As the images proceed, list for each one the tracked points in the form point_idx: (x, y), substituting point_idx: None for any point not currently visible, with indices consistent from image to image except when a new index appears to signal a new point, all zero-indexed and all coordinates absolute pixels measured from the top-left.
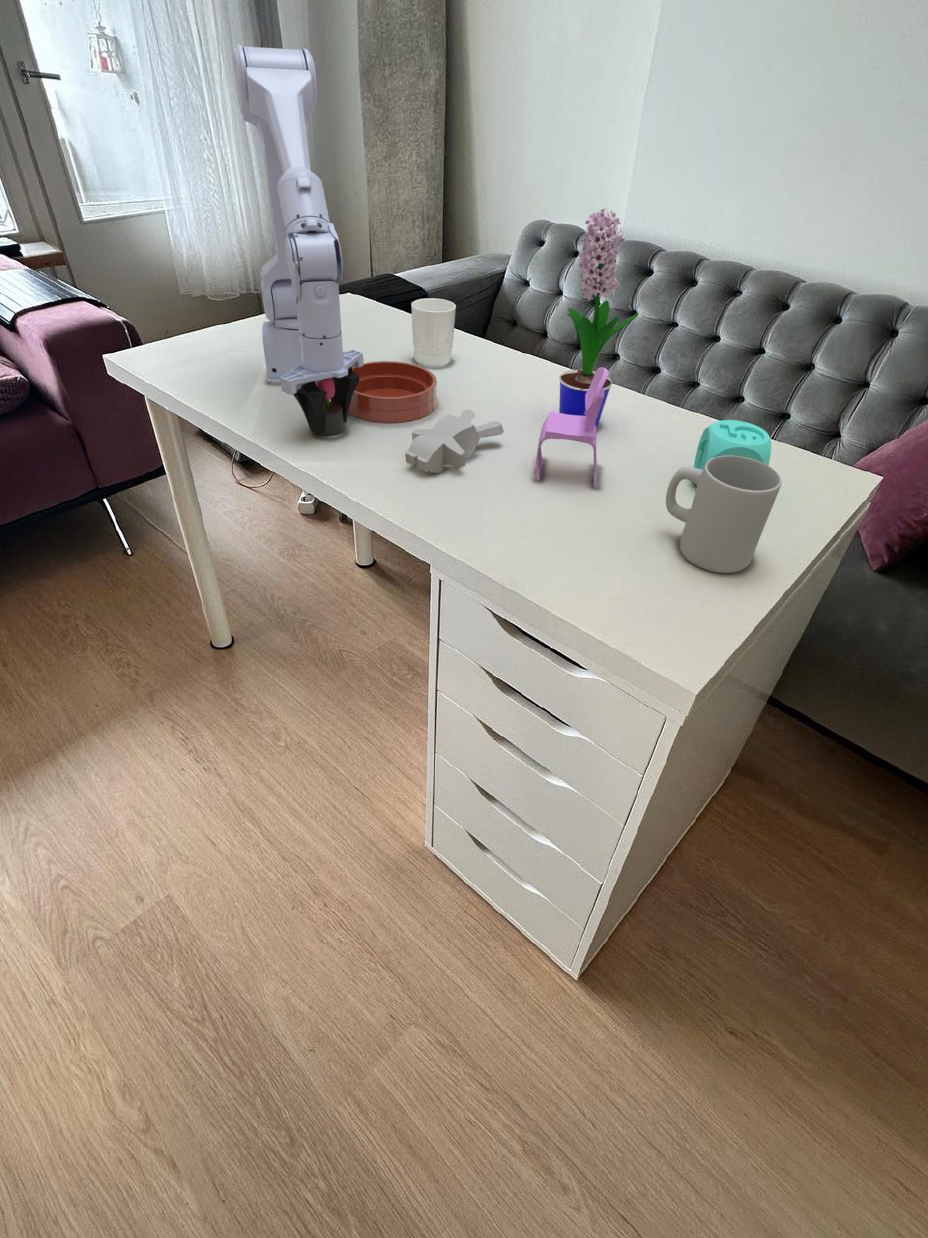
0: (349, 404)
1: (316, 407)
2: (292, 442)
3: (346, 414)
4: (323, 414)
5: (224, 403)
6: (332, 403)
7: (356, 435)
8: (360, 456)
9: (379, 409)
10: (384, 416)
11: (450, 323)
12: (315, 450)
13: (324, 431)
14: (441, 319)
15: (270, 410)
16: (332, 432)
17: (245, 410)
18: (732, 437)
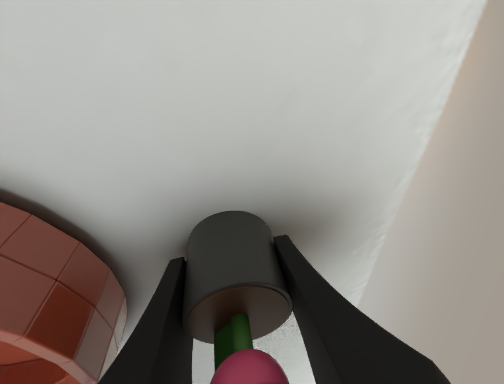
0: (146, 313)
1: (364, 315)
2: (331, 243)
3: (168, 278)
4: (298, 284)
5: (298, 367)
6: (205, 331)
7: (169, 198)
8: (256, 54)
9: (6, 261)
10: (3, 227)
11: None
12: (328, 186)
13: (270, 238)
14: None
15: (261, 343)
16: (250, 227)
17: (292, 350)
18: None
